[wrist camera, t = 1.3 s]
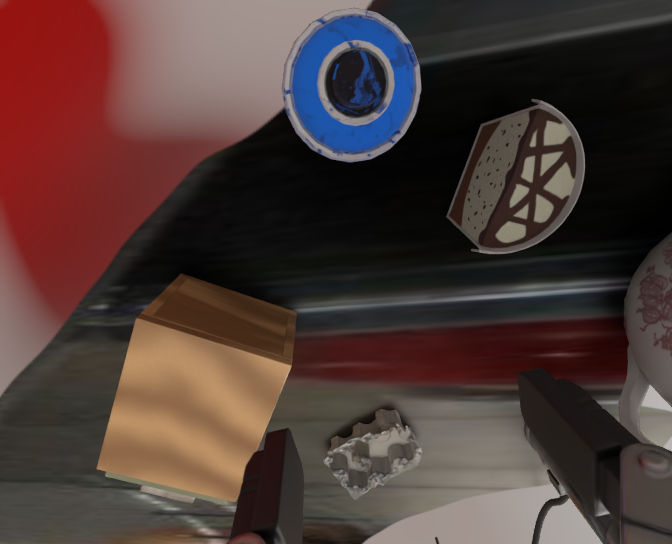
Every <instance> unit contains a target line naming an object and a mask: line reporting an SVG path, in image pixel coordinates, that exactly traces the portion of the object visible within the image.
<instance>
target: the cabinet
mask: <svg viewBox="0 0 672 544" xmlns="http://www.w3.org/2000/svg"><path fill="white" fill-rule="evenodd" d="M296 315H297V312H295V311H292V310H289V309H286V308H283V307H280V306H277V305H274V304H271V303H268V302H265V301H262V300H259V299H256V298H253V297H250V296H247V295H244V294H241V293H238V292H235V291H232V290H229V289H226V288H223V287H220V286H217V285H214V284H211V283H208V282H205V281H202V280H199V279H196V278H193V277H190V276H187V275H184V274H180V275H179V276H178V277H177V278H176V279H175V280H174V281H173V282H172V283H171V284H170V285H169V286H168V287H167V288H166V289H165V290H164V291H163V292H162V293H161V294H160V295H159V296H158V297H157V298H156V299H155V300H154V301H153V302H152V303H151V304H150V305H149V306H148V307H147V308H146V309H145V310H144V311H143V312H142V313H141V314H140V315H139V316H138V317H137V318H136V320H135V324H134V328H133V332H132V336H131V339H130V343H129V347H128V351H127V355H126V358H125V362H124V366H123V370H122V374H121V377H120V381H119V385H118V389H117V393H116V396H115V400H114V404H113V408H112V412H111V415H110V419H109V423H108V427H107V431H106V434H105V438H104V442H103V446H102V450H101V453H100V457H99V461H98V465H97V469H98V470H103V471H107V472H111V473H115V474H119V475H123V476H128V477H132V478H136V479H140V480H144V481H149V482H153V483H157V484H161V485H165V486H169V487H174V488H178V489H182V490H186V491H190V492H194V493H199V494H203V495H207V496H211V497H215V498H220V499H224V500H228V501H232V502H236V500H237V498H238V495H239V493H240V490H241V485H242V483H243V476H244V471H245V466H246V464H247V463H248V461H249V460H250V458H251V457H252V455H253V453H254V452H257V449H258V447H259V444H260V442H261V439H262V437H263V434H264V432H265V430H266V427H267V425H268V422H269V420H270V417H271V415H272V413H273V410H274V408H275V405H276V403H277V400H278V398H279V395H280V393H281V391H282V388H283V386H284V383H285V381H286V378H287V376H288V374H289V371H290V369H291V366H292V357H293V346H294V336H295V325H296Z"/></svg>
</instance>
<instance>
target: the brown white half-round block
mask: <svg viewBox="0 0 672 544" xmlns="http://www.w3.org/2000/svg"><path fill="white" fill-rule="evenodd" d="M532 102H535V103H537V104H538V105H536V106H533V107H530V108H527V109H524V110H521V111H518V112H515V113H512V114H509V115H506V116H503V117H500V118H498V119H495V120H492V121H489V122H486V123H483V124H481V126H480V128H479V131H478V134H477V136H476V139H475V142H474V144H473V147H472V150H471V152H470V155H469V158H468V160H467V163H466V165H465V168H464V171H463V173H462V176H461V179H460V181H459V184H458V187H457V189H456V192H455V195H454V197H453V200H452V203H451V205H450V208H449V211H448V213H447V216H446V217H447V218H448V219H449V220H450V221H451V222H452V223H453V224H454V225H455V226H456V227H457V228H458V229H459V230H460V231H462V232H463V233H464V234H465V235H466V236H467V237H468V238H469V239H470V240H471V241H472V242H473V243H474V244H475V245H476V246H477V247H478V248H479V250H477V249H471V251H476V252H481V253H487V254H505V253H512V252H515V251H519V250H523V249H526V248H528V247H530V246H533V245H535V244H537V243H539V242H540V241H542V240H544V239H545V238H547V237H548V236H549V235H550V234H552V233H553V232H554V231H555V230H556V229H557V228H558V227H559V226H560V225H561V224H562V223H563V222H564V221H565V219H566V218H567V216H568V215H569V214H570V212H571V211H572V209H573V207H574V205H575V203H576V202H577V199H578V197H579V194H580V192H581V189H582V184H583V180H584V173H585V156H584V150H583V146H582V142H581V140H580V137H579V135H578V132H577V131H576V129H575V128H574V126H573V125H572V123H571V122H570V121H569V120H568V119H567V118H566V117H565V116H564V115H563V114H562V113H561V112H560V111H558V110H557V109H556V108H554V107H553V106H552V105H549V104H547V103H545V102H543V101H540V100H536V99H532Z"/></svg>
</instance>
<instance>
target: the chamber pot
mask: <svg viewBox="0 0 672 544" xmlns="http://www.w3.org/2000/svg"><path fill="white" fill-rule="evenodd" d="M623 324H624V327H625V331H626V334H627V338H628V341H629V346H628V348H627V351H628V370H627V378H626V382H625V385H624V388H623V391H622V394H621V397H620V400H619V419H620V424H621V425H623V426H624V427H625V428H626V429H627V430H628V431H629V432H630V433H631V434H632V435H634V436H635V437H636V438H637V439H638V440H639V441H640V442H641V443H646V444H653V443H652V442H651V441H650V440H648V439H647V438H646V437H644V435H643V434H642V432H641V431H640V421H639V409H640V407H641V404H642V402H643V400H644V397H645V395H646V393H647V391H648V388H649V385H651V386H652V387H653V388H654V389H655V390H656V391H657V392H658V393H659V394H660V395H661V397H662V398H663V399H664V400H665V401H666V402H667V403H668V404H669V405H670V406H671V407H672V232H671V233H670V234H669V235H668V236H667V237H665V238H664V239H663V240H662V241H661V242H660V243H659V244H657V245H656V246H655V247H654V248H653V249H652V250H651V251H650V252H649V253H648V254H647V256H646V257H645V258H644V260H643V261H642V263H641V264H640V266H639V267H638V268H637V270H636V271H635V273H634V274H633V277H632V280H631V282H630V285H629V288H628V291H627V293H626V296H625V299H624V323H623ZM653 445H655V444H653ZM671 452H672V451H671Z"/></svg>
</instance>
